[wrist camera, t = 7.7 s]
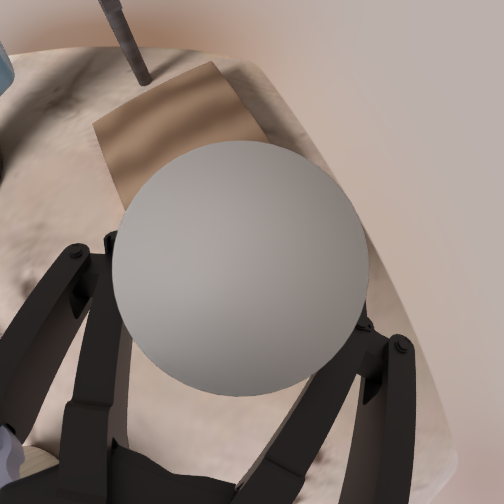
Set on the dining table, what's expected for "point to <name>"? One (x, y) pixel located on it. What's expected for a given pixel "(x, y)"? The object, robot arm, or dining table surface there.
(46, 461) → the canister
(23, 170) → the dining table surface
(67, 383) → the dining table surface
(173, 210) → the domed lid bottle
